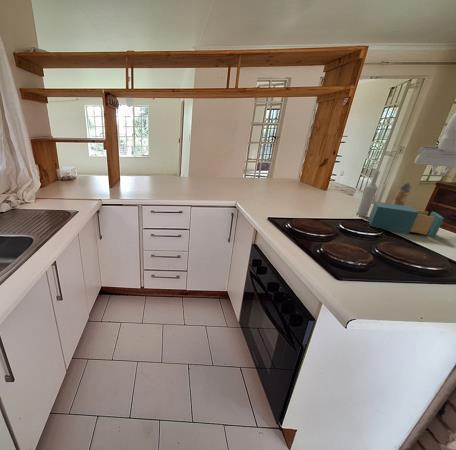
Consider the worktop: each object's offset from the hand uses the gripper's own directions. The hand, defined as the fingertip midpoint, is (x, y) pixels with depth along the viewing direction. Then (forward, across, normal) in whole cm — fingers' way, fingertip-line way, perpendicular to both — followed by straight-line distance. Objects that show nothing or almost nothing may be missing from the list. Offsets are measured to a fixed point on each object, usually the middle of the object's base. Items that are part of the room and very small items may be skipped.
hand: (438, 175), depth 119 cm
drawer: (+24, -6, -25) cm, 35 cm away
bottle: (+25, -24, -8) cm, 36 cm away
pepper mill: (+25, -11, -8) cm, 29 cm away
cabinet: (+25, -15, -25) cm, 38 cm away
